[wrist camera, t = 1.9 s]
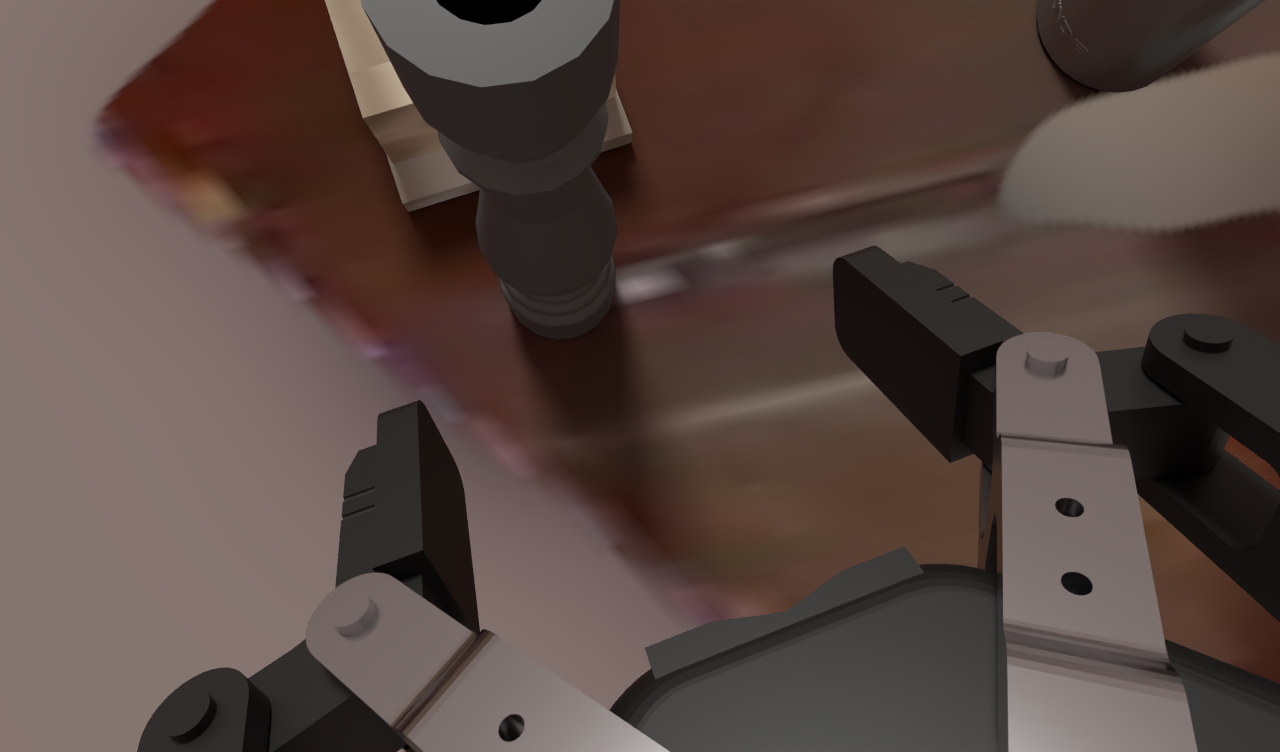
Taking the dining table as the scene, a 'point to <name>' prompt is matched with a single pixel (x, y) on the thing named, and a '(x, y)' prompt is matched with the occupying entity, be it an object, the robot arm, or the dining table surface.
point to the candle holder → (521, 137)
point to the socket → (416, 115)
